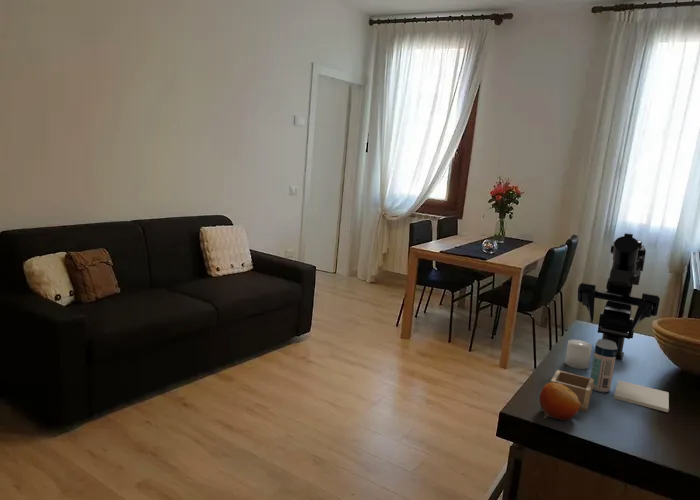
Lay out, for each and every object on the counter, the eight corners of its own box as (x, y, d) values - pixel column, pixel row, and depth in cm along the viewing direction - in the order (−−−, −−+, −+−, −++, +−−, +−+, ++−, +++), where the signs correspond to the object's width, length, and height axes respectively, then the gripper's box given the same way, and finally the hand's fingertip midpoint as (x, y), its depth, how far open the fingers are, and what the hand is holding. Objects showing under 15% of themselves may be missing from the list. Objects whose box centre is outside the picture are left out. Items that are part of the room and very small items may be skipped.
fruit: (524, 398, 118) (548, 370, 117) (553, 418, 119) (576, 391, 118) (536, 416, 110) (561, 386, 109) (566, 437, 111) (591, 408, 110)
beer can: (612, 390, 130) (620, 342, 128) (606, 395, 127) (614, 346, 125) (592, 383, 134) (600, 337, 132) (585, 388, 130) (593, 340, 128)
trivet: (617, 383, 135) (618, 380, 135) (668, 395, 130) (668, 392, 130) (613, 398, 126) (614, 395, 125) (668, 412, 120) (668, 409, 120)
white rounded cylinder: (566, 358, 150) (569, 338, 149) (590, 364, 147) (593, 343, 146) (563, 365, 145) (566, 343, 144) (587, 370, 142) (590, 349, 141)
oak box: (554, 389, 128) (557, 369, 127) (590, 399, 124) (594, 379, 123) (547, 401, 121) (551, 380, 120) (586, 412, 117) (589, 390, 116)
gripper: (584, 252, 141) (572, 299, 133) (666, 264, 132) (657, 315, 124) (583, 278, 149) (571, 324, 141) (660, 290, 140) (652, 341, 132)
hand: (611, 325), depth 135 cm, fingers open, 9 cm apart
